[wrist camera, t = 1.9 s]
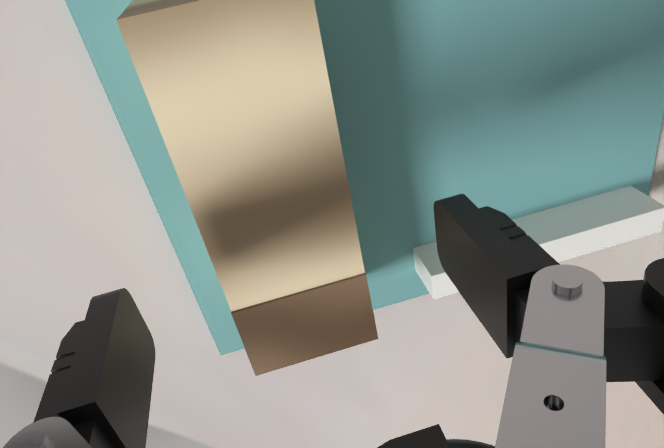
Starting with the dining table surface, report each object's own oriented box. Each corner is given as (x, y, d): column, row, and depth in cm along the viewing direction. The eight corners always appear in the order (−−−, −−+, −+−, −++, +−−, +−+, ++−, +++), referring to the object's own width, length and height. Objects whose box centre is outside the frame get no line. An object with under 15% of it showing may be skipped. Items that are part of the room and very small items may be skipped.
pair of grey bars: (375, -76, 15) (398, -76, 13) (684, -147, 16) (743, -154, 14) (415, 270, 22) (433, 299, 20) (626, 208, 23) (660, 231, 21)
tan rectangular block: (132, -1, 14) (115, 20, 11) (287, -36, 15) (310, -25, 12) (247, 309, 21) (255, 375, 18) (352, 279, 21) (378, 338, 18)
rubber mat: (40, -69, 13) (35, -68, 13) (710, -212, 15) (725, -215, 15) (220, 347, 22) (220, 355, 22) (634, 224, 24) (641, 229, 23)
